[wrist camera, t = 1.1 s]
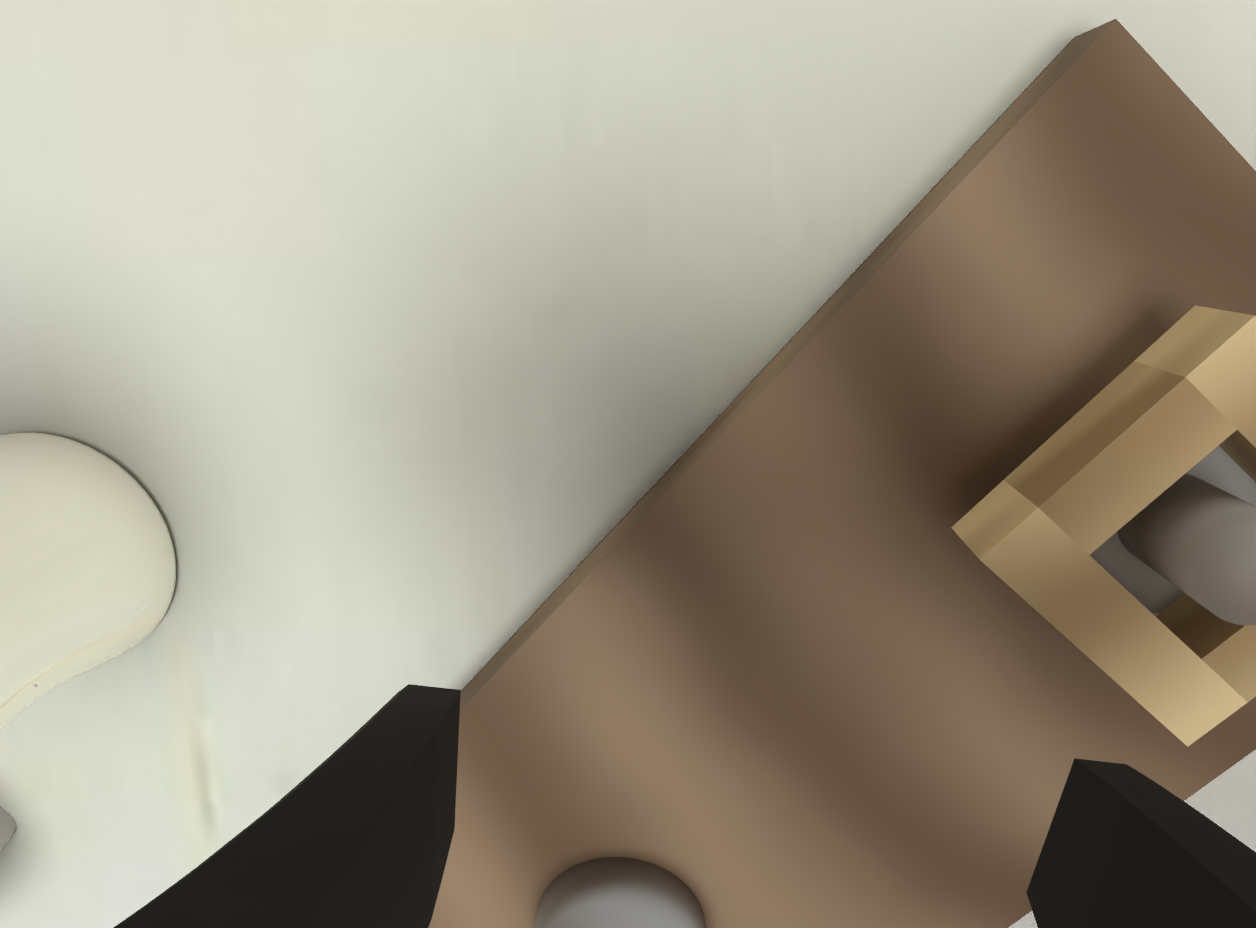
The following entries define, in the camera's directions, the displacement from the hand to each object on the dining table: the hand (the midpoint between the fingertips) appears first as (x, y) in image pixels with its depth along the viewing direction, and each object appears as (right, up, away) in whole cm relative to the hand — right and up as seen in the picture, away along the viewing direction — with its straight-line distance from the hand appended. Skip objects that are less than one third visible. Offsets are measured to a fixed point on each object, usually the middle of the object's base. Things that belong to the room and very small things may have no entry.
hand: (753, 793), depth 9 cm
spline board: (+4, -2, +11) cm, 11 cm away
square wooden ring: (+9, +3, +6) cm, 11 cm away
